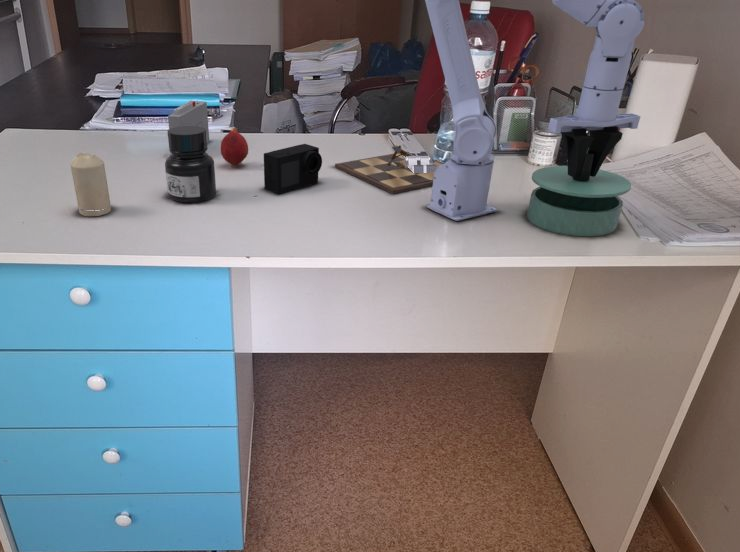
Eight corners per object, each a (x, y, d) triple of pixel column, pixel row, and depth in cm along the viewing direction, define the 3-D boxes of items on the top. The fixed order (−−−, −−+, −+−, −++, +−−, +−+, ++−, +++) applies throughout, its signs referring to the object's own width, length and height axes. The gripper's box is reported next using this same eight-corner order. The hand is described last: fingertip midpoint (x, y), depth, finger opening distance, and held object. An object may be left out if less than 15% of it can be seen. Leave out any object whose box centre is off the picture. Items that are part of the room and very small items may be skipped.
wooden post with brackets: (383, 161, 133) (394, 141, 130) (418, 178, 133) (429, 159, 131) (383, 164, 131) (394, 143, 129) (418, 181, 132) (429, 161, 129)
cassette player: (198, 140, 154) (195, 96, 149) (209, 141, 153) (206, 97, 148) (172, 158, 141) (167, 111, 136) (183, 159, 141) (179, 111, 135)
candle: (117, 207, 115) (108, 151, 110) (100, 218, 111) (90, 160, 105) (91, 204, 117) (81, 148, 111) (73, 214, 112) (61, 157, 107)
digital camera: (282, 196, 120) (282, 158, 116) (264, 189, 123) (263, 152, 120) (322, 184, 126) (323, 148, 122) (304, 178, 129) (304, 142, 125)
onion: (244, 171, 133) (243, 131, 129) (218, 169, 134) (215, 130, 130) (251, 163, 138) (250, 124, 134) (226, 161, 139) (223, 123, 135)
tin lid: (563, 204, 98) (572, 168, 95) (513, 175, 111) (520, 142, 108) (650, 197, 101) (661, 161, 98) (592, 169, 114) (600, 137, 111)
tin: (576, 242, 101) (582, 218, 99) (509, 214, 111) (513, 192, 109) (634, 226, 107) (641, 202, 105) (566, 200, 117) (571, 179, 115)
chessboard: (392, 194, 121) (392, 190, 120) (334, 167, 135) (334, 163, 135) (472, 177, 129) (473, 173, 129) (409, 153, 144) (410, 150, 143)
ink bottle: (157, 195, 120) (149, 130, 114) (193, 184, 126) (188, 121, 119) (190, 208, 115) (184, 139, 108) (227, 195, 120) (223, 130, 114)
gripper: (628, 80, 102) (605, 165, 110) (545, 84, 100) (528, 171, 107) (658, 88, 96) (632, 178, 104) (571, 93, 94) (551, 184, 101)
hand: (581, 175), depth 105 cm, fingers closed on tin lid, 2 cm apart
